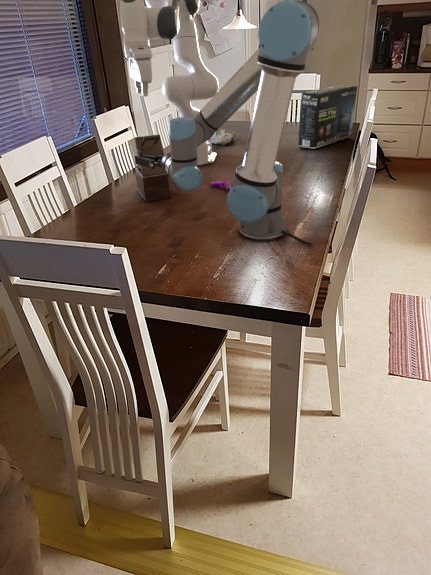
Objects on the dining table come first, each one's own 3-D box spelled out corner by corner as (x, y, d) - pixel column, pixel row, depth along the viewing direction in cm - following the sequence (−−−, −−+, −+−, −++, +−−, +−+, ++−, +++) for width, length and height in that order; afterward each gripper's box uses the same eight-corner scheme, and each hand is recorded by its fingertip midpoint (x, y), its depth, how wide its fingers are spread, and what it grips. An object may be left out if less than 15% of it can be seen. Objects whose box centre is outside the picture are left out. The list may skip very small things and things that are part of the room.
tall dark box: (133, 138, 172) (136, 130, 165) (159, 135, 175) (163, 127, 167) (142, 176, 173) (145, 171, 165) (167, 173, 176) (172, 167, 168)
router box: (314, 151, 231) (318, 94, 217) (296, 148, 237) (299, 92, 224) (352, 138, 251) (358, 85, 238) (335, 135, 258) (340, 83, 245)
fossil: (226, 139, 242) (207, 121, 245) (215, 156, 249) (197, 138, 252) (243, 138, 256) (224, 121, 259) (232, 154, 262) (215, 137, 266)
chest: (137, 191, 189) (134, 168, 184) (160, 187, 192) (158, 164, 187) (145, 202, 178) (142, 177, 173) (170, 198, 181) (168, 174, 176)
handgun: (210, 185, 192) (210, 181, 191) (228, 183, 193) (228, 179, 192) (220, 202, 174) (220, 197, 173) (240, 199, 175) (239, 195, 174)
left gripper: (122, 50, 166) (128, 91, 173) (134, 53, 149) (139, 99, 156) (140, 49, 167) (144, 90, 175) (153, 52, 151) (157, 97, 158)
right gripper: (138, 184, 141) (124, 166, 158) (214, 172, 148) (193, 156, 165) (134, 159, 137) (121, 144, 154) (213, 149, 144) (192, 135, 161)
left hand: (142, 94), depth 165 cm, fingers open, 8 cm apart
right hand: (158, 150), depth 159 cm, fingers open, 13 cm apart
